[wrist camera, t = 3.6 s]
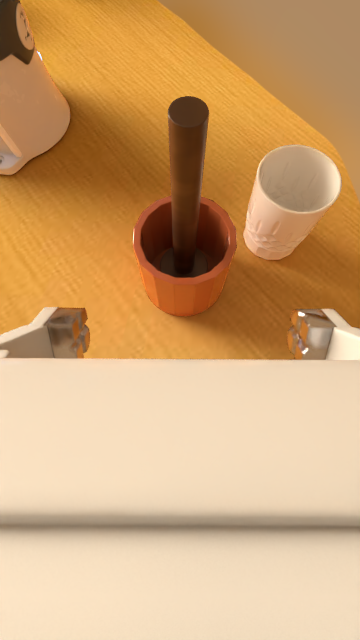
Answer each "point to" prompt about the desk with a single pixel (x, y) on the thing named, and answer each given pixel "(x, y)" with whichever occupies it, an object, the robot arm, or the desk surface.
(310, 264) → the desk surface
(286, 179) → the white cup
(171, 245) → the utensil holder
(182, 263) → the brown dowel on base
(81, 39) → the desk surface
